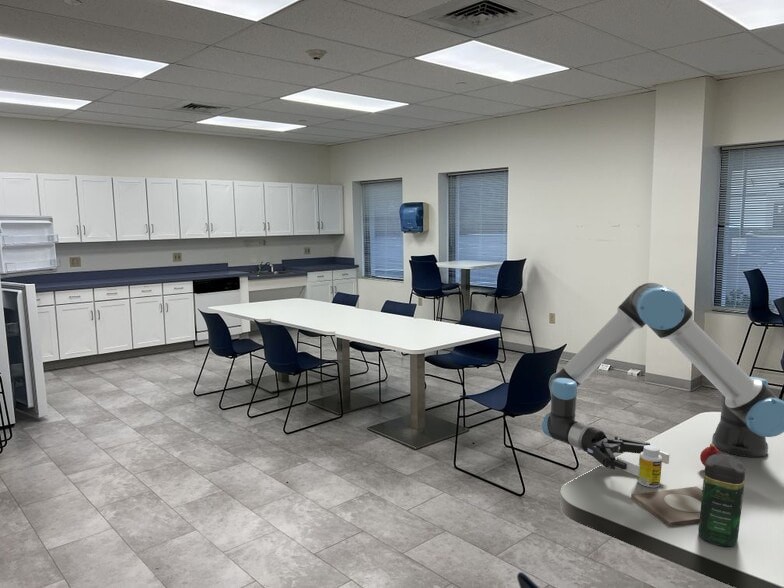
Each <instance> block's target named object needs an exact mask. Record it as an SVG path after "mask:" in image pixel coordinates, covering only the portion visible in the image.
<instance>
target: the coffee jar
mask: <svg viewBox="0 0 784 588" xmlns="http://www.w3.org/2000/svg"><path fill="white" fill-rule="evenodd" d="M745 475H746V467H745V464H744V463H743V461H741V460H740V459H738V458H737V456H733V455H729V454H724V453H722V454H720V453H717V454H714V455H711V456H709V457H708V458H707V460H706V462H705V466H704V472H703V480H702V500H701V511H700V519H699V523H698V535H699V536H700V537H701V539H703V540H705V541H707V542H709V543H711V544H713V545H716V546H721V547H723V546H724V547H725V546H726V547H733V546H735V545H736V544H737V542H738V539H739V532H740V525H741V515H742V507H743V500H744V499H743V498H744V490H745V489H744V488H745V478H746V476H745Z"/></svg>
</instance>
